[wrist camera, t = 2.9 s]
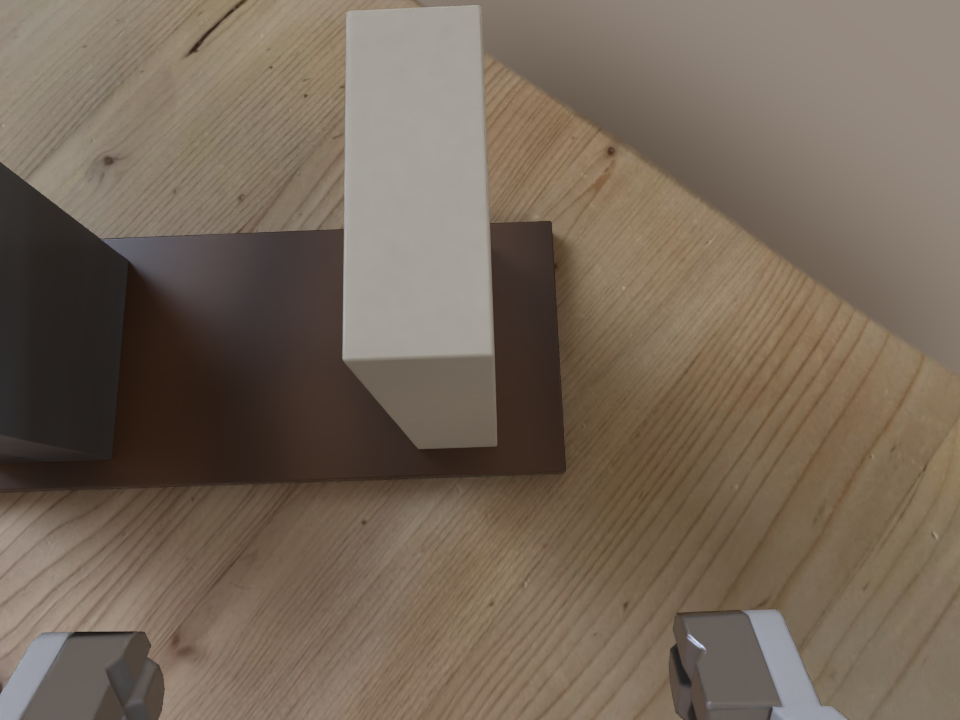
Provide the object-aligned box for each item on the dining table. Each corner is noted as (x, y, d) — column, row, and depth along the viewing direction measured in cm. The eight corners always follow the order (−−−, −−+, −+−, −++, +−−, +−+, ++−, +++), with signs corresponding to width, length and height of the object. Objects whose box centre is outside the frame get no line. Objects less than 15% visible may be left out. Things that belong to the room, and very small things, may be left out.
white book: (490, 246, 30) (481, 3, 17) (497, 446, 28) (494, 356, 15) (414, 248, 30) (345, 9, 17) (417, 449, 29) (341, 362, 15)
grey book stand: (550, 230, 32) (583, 19, 19) (564, 473, 29) (612, 419, 17) (0, 251, 32) (-328, 59, 19) (-31, 493, 30) (-426, 455, 17)
